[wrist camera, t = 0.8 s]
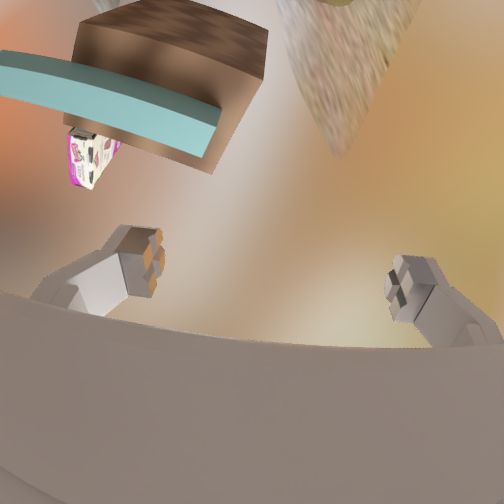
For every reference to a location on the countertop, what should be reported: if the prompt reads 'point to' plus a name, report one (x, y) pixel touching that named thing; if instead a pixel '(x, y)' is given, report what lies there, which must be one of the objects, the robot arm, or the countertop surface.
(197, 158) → the walnut stand
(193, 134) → the teal bar
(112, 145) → the candy bar box
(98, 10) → the countertop surface
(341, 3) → the cork
